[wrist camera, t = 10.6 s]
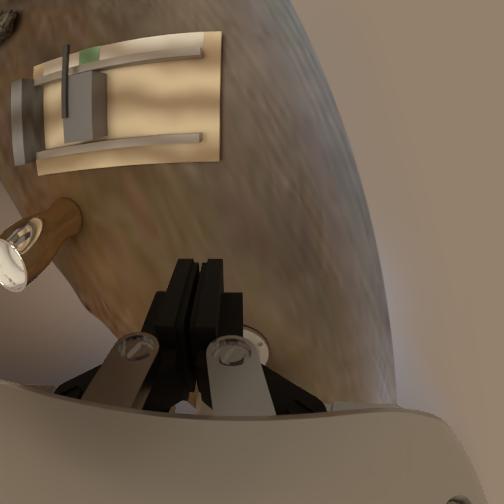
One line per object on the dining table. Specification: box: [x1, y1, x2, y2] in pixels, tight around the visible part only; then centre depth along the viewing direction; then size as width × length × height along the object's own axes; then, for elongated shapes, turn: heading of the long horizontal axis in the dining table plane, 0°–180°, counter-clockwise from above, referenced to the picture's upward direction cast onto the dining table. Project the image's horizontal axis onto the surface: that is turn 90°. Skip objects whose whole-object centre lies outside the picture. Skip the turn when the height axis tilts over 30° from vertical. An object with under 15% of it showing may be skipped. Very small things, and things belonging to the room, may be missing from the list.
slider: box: [61, 44, 107, 144], centre depth 27 cm, size 12×4×5 cm, turn 179°
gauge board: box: [11, 31, 222, 176], centre depth 28 cm, size 16×26×6 cm, turn 89°
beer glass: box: [0, 198, 82, 292], centre depth 31 cm, size 7×7×15 cm
